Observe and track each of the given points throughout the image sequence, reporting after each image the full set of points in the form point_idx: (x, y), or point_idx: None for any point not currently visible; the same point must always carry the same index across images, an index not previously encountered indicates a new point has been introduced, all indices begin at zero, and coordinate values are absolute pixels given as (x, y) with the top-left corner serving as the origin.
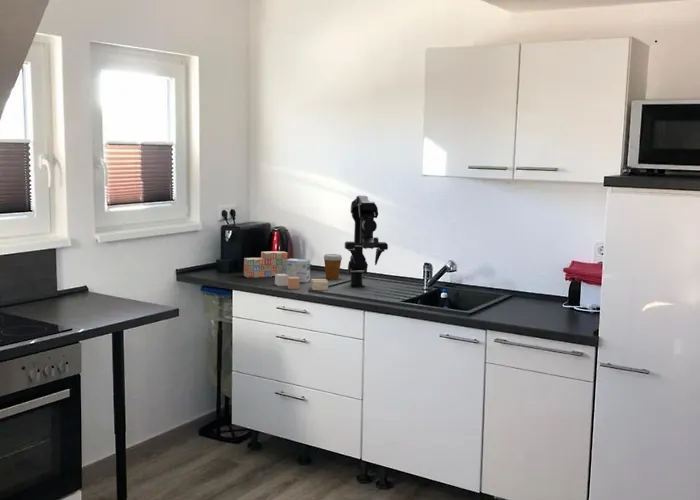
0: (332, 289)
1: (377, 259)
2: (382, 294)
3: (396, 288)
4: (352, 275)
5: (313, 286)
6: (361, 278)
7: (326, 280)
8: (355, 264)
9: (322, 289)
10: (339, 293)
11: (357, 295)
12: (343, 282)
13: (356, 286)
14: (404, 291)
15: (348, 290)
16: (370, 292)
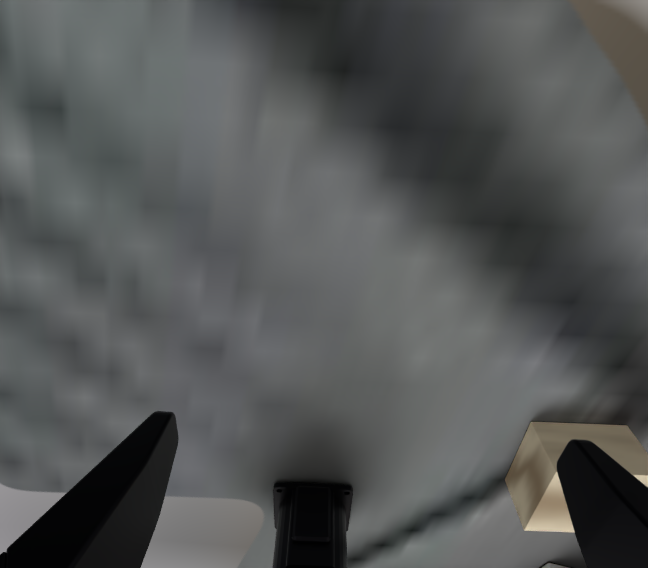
0: (491, 435)
1: (70, 512)
2: (182, 281)
3: (79, 442)
4: (342, 562)
5: (639, 445)
6: (285, 537)
7: (547, 498)
8: (582, 442)
9: (568, 426)
10: (503, 328)
11: (393, 254)
12: (359, 558)
13: (320, 484)
14: (18, 366)
15: (400, 408)
16: (264, 348)
